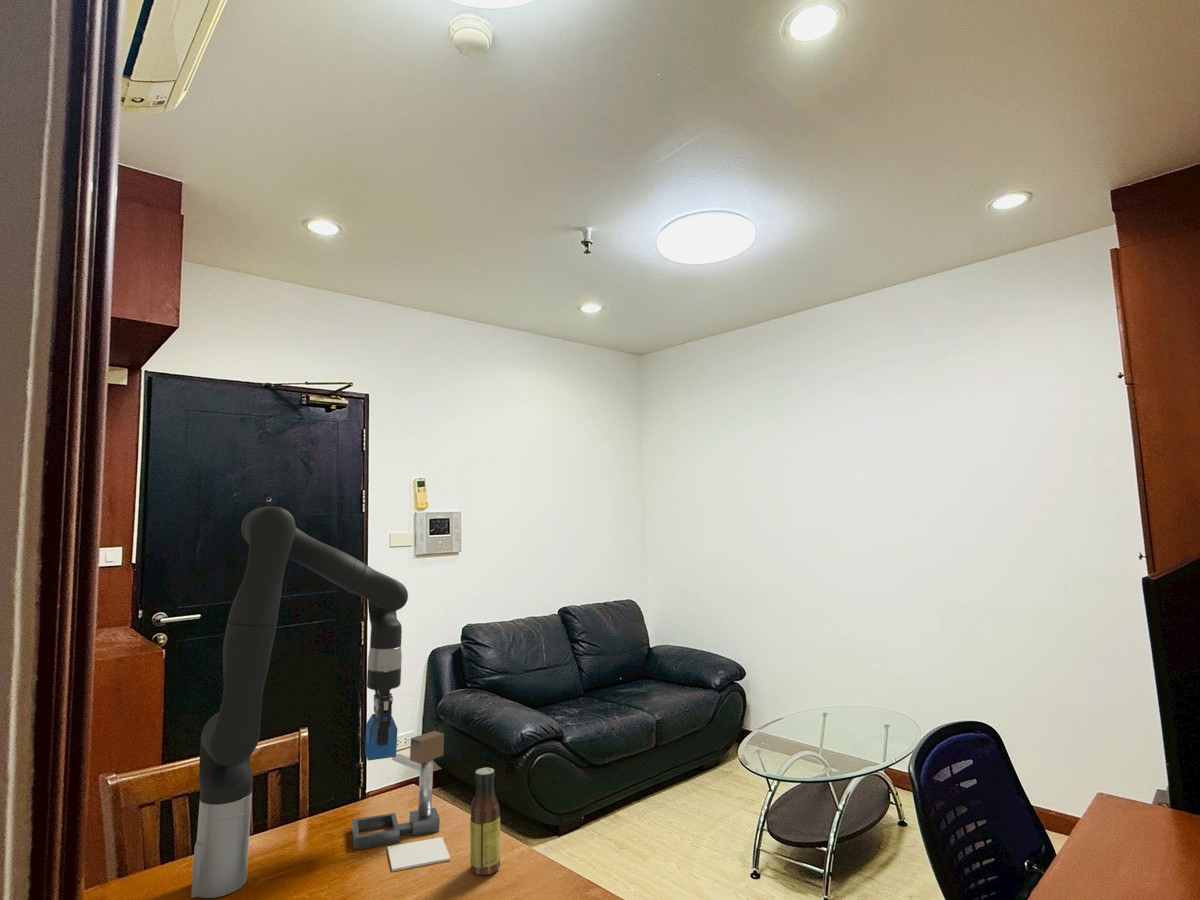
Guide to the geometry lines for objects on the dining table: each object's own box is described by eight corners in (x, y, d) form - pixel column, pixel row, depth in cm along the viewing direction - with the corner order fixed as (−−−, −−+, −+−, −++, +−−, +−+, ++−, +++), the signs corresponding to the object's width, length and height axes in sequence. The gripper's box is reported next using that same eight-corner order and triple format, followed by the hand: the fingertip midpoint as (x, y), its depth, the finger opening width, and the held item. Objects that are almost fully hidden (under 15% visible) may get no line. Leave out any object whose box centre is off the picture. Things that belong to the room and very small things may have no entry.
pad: (392, 871, 137) (392, 869, 137) (387, 849, 146) (387, 846, 147) (450, 860, 142) (450, 858, 142) (442, 839, 151) (442, 837, 151)
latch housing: (354, 850, 146) (354, 835, 146) (351, 830, 155) (352, 817, 155) (440, 835, 153) (440, 821, 153) (433, 817, 162) (434, 804, 162)
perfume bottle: (364, 751, 155) (367, 698, 156) (392, 748, 158) (394, 696, 159) (367, 760, 149) (370, 705, 151) (396, 756, 152) (398, 702, 153)
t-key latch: (381, 804, 161) (385, 729, 163) (405, 795, 167) (408, 722, 168) (417, 821, 153) (420, 741, 155) (441, 810, 158) (444, 733, 160)
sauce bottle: (503, 862, 142) (506, 765, 144) (495, 878, 135) (498, 777, 137) (473, 860, 142) (476, 764, 144) (464, 876, 136) (468, 775, 138)
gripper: (365, 660, 161) (361, 732, 159) (370, 674, 147) (366, 752, 146) (397, 658, 164) (394, 728, 162) (405, 671, 150) (401, 748, 149)
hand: (381, 739), depth 154 cm, fingers closed on perfume bottle, 6 cm apart
